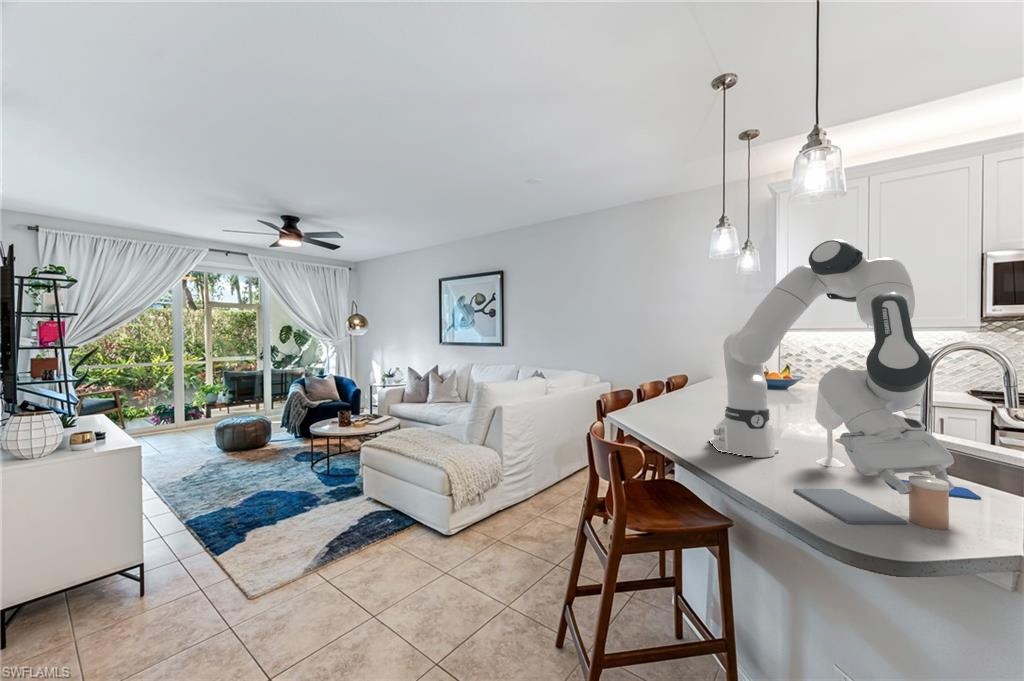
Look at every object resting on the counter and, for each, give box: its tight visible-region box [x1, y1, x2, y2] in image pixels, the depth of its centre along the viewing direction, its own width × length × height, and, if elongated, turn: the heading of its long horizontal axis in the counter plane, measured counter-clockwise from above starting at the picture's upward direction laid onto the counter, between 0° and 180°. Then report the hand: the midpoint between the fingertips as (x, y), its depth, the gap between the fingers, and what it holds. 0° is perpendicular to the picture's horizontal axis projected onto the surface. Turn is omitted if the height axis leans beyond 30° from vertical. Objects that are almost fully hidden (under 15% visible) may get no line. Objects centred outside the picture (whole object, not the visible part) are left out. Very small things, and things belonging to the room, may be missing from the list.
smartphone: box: [887, 478, 982, 500], centre depth 97 cm, size 7×1×15 cm
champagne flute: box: [814, 379, 846, 468], centre depth 118 cm, size 7×7×24 cm
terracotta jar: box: [908, 475, 950, 531], centre depth 80 cm, size 6×6×8 cm
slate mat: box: [793, 488, 908, 525], centre depth 89 cm, size 17×11×1 cm, turn 177°
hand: (928, 491), depth 81 cm, fingers open, 8 cm apart
